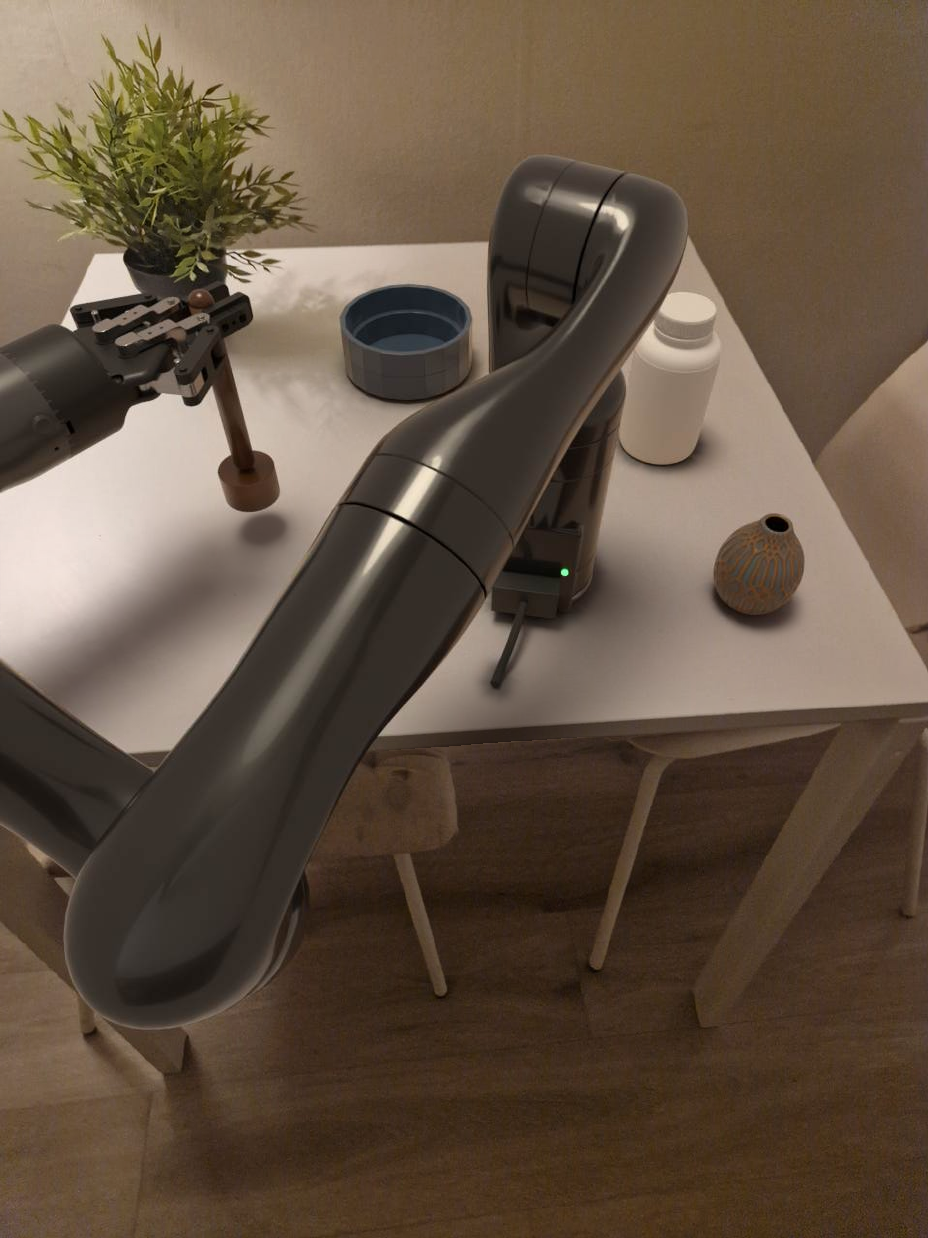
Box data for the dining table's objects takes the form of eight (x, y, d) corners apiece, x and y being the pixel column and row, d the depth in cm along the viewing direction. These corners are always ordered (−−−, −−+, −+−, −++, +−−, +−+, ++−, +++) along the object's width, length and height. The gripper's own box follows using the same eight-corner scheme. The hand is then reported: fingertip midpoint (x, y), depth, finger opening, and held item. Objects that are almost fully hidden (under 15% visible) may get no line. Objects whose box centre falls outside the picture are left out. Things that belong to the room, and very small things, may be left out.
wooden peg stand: (270, 515, 69) (218, 311, 54) (217, 509, 69) (151, 305, 55) (287, 479, 72) (242, 276, 57) (236, 473, 72) (179, 270, 57)
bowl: (459, 410, 85) (459, 360, 81) (331, 396, 87) (324, 347, 82) (479, 338, 94) (480, 289, 89) (363, 326, 95) (358, 278, 91)
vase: (728, 635, 66) (759, 562, 59) (691, 576, 70) (716, 501, 63) (802, 618, 67) (841, 545, 60) (762, 561, 71) (794, 486, 64)
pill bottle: (604, 426, 84) (628, 290, 72) (673, 412, 85) (707, 277, 73) (637, 473, 79) (668, 336, 67) (709, 458, 80) (752, 322, 69)
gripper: (-5, 416, 56) (192, 315, 64) (110, 501, 50) (309, 378, 59) (-60, 317, 50) (165, 220, 59) (65, 401, 45) (293, 281, 53)
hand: (237, 300), depth 59 cm, fingers closed on wooden peg stand
